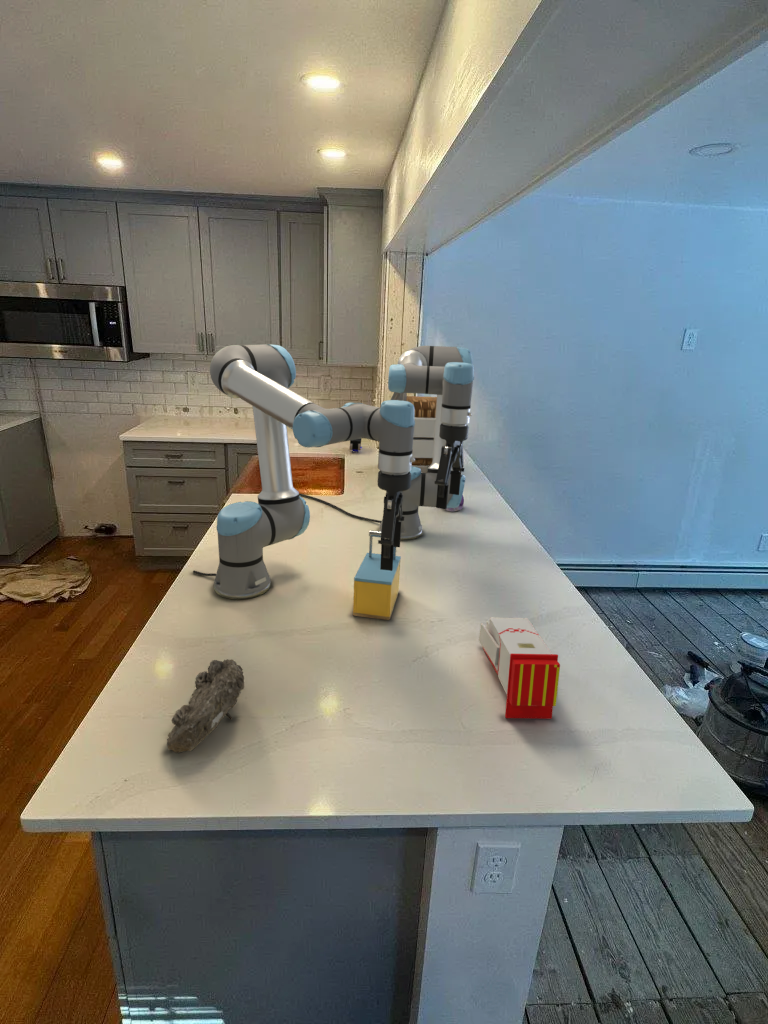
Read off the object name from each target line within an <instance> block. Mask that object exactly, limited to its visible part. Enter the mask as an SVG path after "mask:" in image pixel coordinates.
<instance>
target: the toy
mask: <svg viewBox="0 0 768 1024" xmlns="http://www.w3.org/2000/svg"><path fill="white" fill-rule="evenodd" d="M478 642H479V644H480V645H481V647H482V649H483V651H484V653H485V655H486V656H487V659H488V661H489V662H490V664H491V666H492V667H493V669H494V671H495V673H496V675H497V678H498V679H499V682H500V684H501V686H502V688H503V690H504V692H505V694H506V695H505V696H506V701H505V711H504V717H505V719H535V720H536V719H537V720H538V719H539V720H540V719H541V720H552V719H553V710H554V707H556V706H557V699H558V691H559V682H560V681H559V679H560V670H561V664H560V662H559V655H558V654H555V653H552V651H551V649H550V648H549V647H548V645H547V643H545V641H544V640H543V638H542V637H541V636H540V634H539V633H538V631H537V630H536V628H535V626H534V625H533V623H532V622H531V621H530V620H529V618H528V617H493V616H492V617H489V619H486V623H485V624H484V623H482V622H481V623H480V627H479V635H478Z"/></svg>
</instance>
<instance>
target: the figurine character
mask: <svg viewBox="0 0 768 1024" xmlns="http://www.w3.org/2000/svg"><path fill="white" fill-rule="evenodd" d="M362 439H363V438H361V439H356V440H350V441H349V451H351V454H353V453H357V454H359V451H361V449H362V448H363V446H362Z"/></svg>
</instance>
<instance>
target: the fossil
mask: <svg viewBox="0 0 768 1024" xmlns="http://www.w3.org/2000/svg"><path fill="white" fill-rule="evenodd" d="M243 670H244V669H243V667H242V665H240V664H237V662H236V661H235V660H234V659H232V658H231V659H227V658H226V659H224V660H223V661H222V660H217V659H212V660H211V661H210V663H209V665H208V666H207V671H201V672H199V673H198V674H197V675H196V676H195V680H194V684H195V685H194V687H195V689H194V690H193V693H192V694H191V697H190V698H189V700H188V704H184V705H182V706H181V707H180V709H177V710H176V711H175V713H174V715H173V716H172V718H171V723H172V724H173V727H172V730H171V731H170V732H168V734H167V738H166V741H167V742H166V745H167V749H168V750H169V751H173V752H174V753H176V754H178V753H182V752H188V751H189V752H192V751H193V750H195V748H196V747H197V746H199V744H200V743H201V742H203V741H204V740H205V739H206V738H207V737H208V736H209V735H210V734H211V733H212V732H214V730H215V729H217V727H218V726H219V724H220V722H221V721H222V720H223V719H224V718H225V716H226V717H227V719H229V720H233V717H232V715H230V714H229V710H230V709H231V708H234V706H235V704H236V703H237V702H238V699H239V697H240V695H241V693H242V691H243V690H245V689H244V688H245V675H244V671H243Z"/></svg>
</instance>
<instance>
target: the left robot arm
mask: <svg viewBox="0 0 768 1024" xmlns="http://www.w3.org/2000/svg"><path fill="white" fill-rule="evenodd" d="M209 375H210V378H211V381H212V383H213V385H214V386H215V387H216V388H217V389H218V391H220V392H221V393H222V394H224V395H225V396H226V395H227V397H229V398H232V399H241V400H242V401H244V402H246V403H247V404H249V405H251V406H252V415H253V423H254V430H255V439H256V440H255V441H256V448H257V456H258V457H257V458H258V466H259V474H260V482H261V492H259V493H258V495H257V502H255V501H248V500H247V501H246V500H244V501H236V502H233V503H229V504H228V505H225V506H224V507H222V508H221V509H220V510H219V512H218V514H217V517H216V533H217V544H218V545H217V546H218V557H219V558H218V561H219V562H218V565H217V570H216V573H213V572H212V573H209V572H208V573H207V572H206V573H205V572H201V571H198V570H192V573H193V574H197V575H200V576H204V577H214V580H213V591H214V593H215V594H217V595H218V596H219V597H221V598H226V599H229V600H247V599H253V598H256V597H259V596H261V595H263V594H265V593H267V592H268V591H269V589H270V588H271V577H270V574H269V571H268V568H267V566H266V563H265V561H264V548H265V547H268V546H272V545H275V544H278V543H282V542H284V541H287V540H289V541H290V540H293V539H295V538H296V537H299V536H301V535H302V534H304V533H305V532H306V530H308V528H309V525H310V522H311V521H310V520H311V512H310V508H309V505H308V504H307V501H306V500H305V499H304V497H303V496H300V495H299V493H300V492H299V490H298V489H296V488H295V487H294V484H293V474H292V473H293V472H292V464H291V463H292V462H291V454H290V445H289V436H288V428H289V429H291V430H292V433H293V436H294V439H296V441H297V443H298V444H299V445H300V446H301V447H303V448H308V449H309V448H321V447H325V446H329V445H334V444H339V443H343V442H345V443H346V442H350V440H356V439H361V438H362V439H365V440H369V441H375V442H378V456H377V458H378V460H377V469H378V470H379V471H378V472H377V487H378V488H379V489H380V490H382V491H385V496H384V497H383V511H382V513H383V514H382V519H383V522H382V531H381V537H380V539H378V540H377V544H379V545H380V549H381V550H380V554H381V566H380V570H389V571H392V570H393V552H394V547H396V548H401V540H400V538H401V522H399V521H404V518H405V517H403V516H402V515H403V512H402V501H403V495H402V491H406V490H408V489H410V487H411V473H410V472H409V471H411V468H412V467H413V466H412V462H414V461H415V458H411V457H412V452H413V449H412V447H413V436H414V426H415V408H414V405H413V404H412V403H411V402H408V401H399V400H391V399H387V400H383V401H382V402H381V403H380V407H379V406H374V405H370V404H365V403H362V402H346V403H345V404H344V405H342V406H341V407H333V408H325V407H323V406H320V405H318V404H316V403H315V402H313V401H311V400H309V399H308V398H306V397H304V396H302V395H301V394H299V393H296V392H295V391H294V390H291V389H290V387H292V386H293V385H294V383H295V380H296V377H297V369H296V365H295V361H294V358H293V357H292V355H291V353H290V352H288V350H287V349H286V348H284V347H283V346H282V345H278V344H269V343H264V344H262V343H261V344H231V345H227V346H224V347H223V348H221V349H219V350H218V351H217V352H216V353H215V354H214V355H213V357H212V359H211V362H210V364H209ZM362 439H361V440H362ZM386 491H387V493H386Z"/></svg>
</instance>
